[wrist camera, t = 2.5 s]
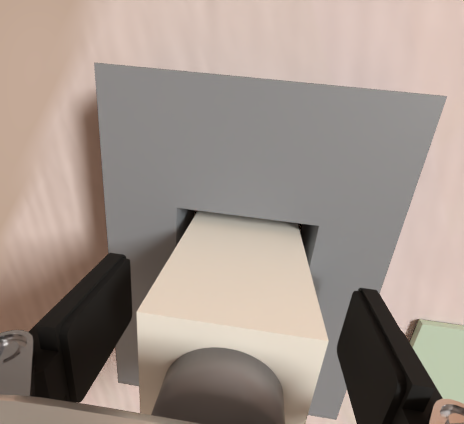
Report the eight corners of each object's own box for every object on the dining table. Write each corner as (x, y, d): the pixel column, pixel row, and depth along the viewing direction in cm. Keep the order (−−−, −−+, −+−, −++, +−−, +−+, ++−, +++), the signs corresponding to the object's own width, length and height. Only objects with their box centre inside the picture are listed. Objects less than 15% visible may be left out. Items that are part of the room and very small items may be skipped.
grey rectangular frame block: (135, 71, 13) (94, 62, 10) (400, 97, 13) (447, 96, 9) (142, 335, 19) (118, 382, 16) (323, 363, 19) (336, 419, 15)
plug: (206, 196, 15) (112, 351, 6) (293, 207, 15) (341, 389, 6) (201, 270, 17) (122, 482, 8) (279, 281, 17) (298, 516, 7)
